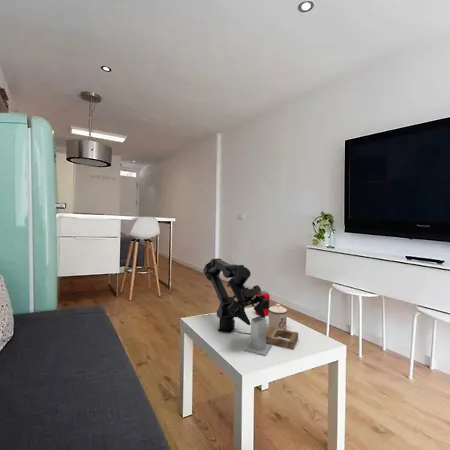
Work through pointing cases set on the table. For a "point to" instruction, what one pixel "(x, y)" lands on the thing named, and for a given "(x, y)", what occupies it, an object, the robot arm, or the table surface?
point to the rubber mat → (260, 352)
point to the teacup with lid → (277, 317)
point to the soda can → (266, 303)
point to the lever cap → (258, 333)
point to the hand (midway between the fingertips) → (257, 322)
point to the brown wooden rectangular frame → (273, 340)
